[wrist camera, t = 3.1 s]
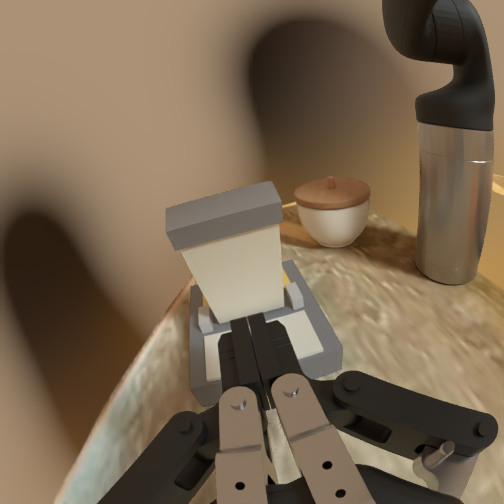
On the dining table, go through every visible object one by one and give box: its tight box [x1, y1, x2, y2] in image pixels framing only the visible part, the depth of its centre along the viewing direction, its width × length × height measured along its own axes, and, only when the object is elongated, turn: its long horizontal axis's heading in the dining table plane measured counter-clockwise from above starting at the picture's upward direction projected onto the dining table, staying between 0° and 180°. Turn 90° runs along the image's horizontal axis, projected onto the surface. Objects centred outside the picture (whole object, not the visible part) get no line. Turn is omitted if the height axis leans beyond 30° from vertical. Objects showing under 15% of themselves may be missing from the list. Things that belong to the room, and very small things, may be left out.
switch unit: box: [189, 260, 343, 406], centre depth 25 cm, size 14×12×4 cm
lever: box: [166, 181, 284, 324], centre depth 20 cm, size 2×6×12 cm, turn 99°
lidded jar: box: [294, 176, 370, 248], centre depth 37 cm, size 11×11×9 cm
